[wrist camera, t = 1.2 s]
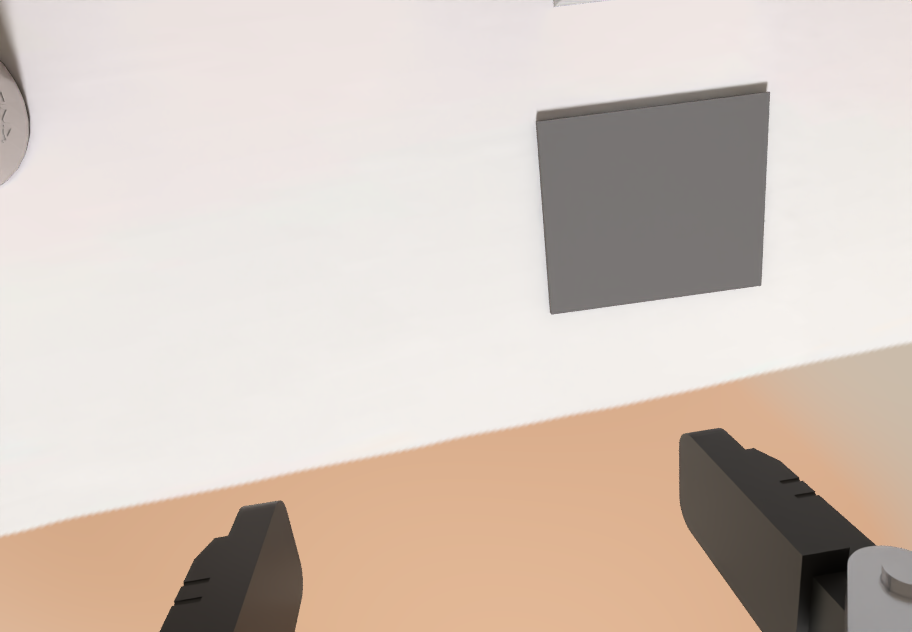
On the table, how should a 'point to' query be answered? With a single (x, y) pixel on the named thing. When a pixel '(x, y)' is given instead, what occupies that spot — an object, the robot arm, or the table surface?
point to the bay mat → (654, 201)
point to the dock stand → (572, 2)
